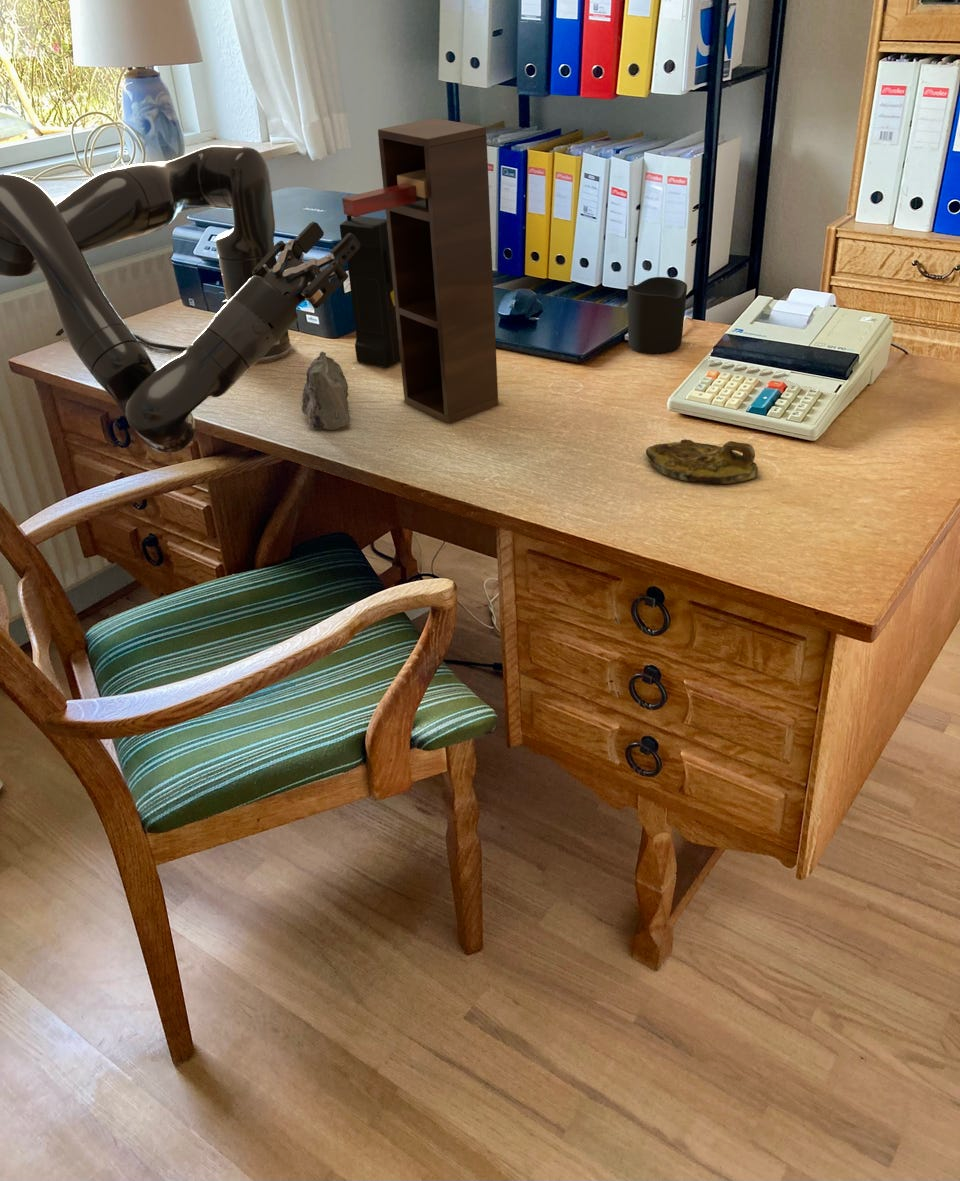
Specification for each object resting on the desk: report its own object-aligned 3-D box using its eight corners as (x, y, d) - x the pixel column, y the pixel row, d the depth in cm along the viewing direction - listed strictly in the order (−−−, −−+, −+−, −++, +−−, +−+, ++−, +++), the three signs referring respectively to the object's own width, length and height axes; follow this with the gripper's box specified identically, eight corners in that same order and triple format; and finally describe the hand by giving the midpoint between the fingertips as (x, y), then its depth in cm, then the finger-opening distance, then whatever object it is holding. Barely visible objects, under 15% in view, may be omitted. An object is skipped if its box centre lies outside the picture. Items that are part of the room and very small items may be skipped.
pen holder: (687, 355, 166) (691, 294, 161) (629, 357, 167) (631, 296, 161) (678, 334, 174) (682, 275, 168) (623, 337, 174) (624, 278, 169)
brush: (337, 217, 133) (333, 189, 131) (443, 191, 142) (441, 164, 140) (362, 225, 129) (359, 196, 127) (470, 198, 138) (469, 170, 136)
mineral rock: (329, 391, 161) (320, 329, 156) (387, 401, 157) (380, 338, 151) (279, 424, 152) (268, 359, 146) (339, 436, 147) (330, 369, 142)
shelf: (404, 402, 156) (377, 129, 135) (453, 384, 161) (434, 118, 139) (448, 424, 149) (427, 139, 127) (498, 404, 154) (486, 126, 132)
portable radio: (414, 357, 171) (400, 202, 157) (393, 369, 167) (376, 211, 153) (377, 350, 175) (359, 197, 161) (355, 362, 171) (335, 206, 157)
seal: (634, 479, 134) (748, 498, 128) (633, 449, 131) (750, 466, 125) (655, 442, 140) (766, 458, 135) (655, 412, 137) (768, 427, 132)
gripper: (242, 330, 136) (323, 244, 138) (298, 358, 126) (384, 265, 129) (206, 288, 130) (291, 200, 133) (262, 314, 121) (353, 218, 123)
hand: (337, 232), depth 131 cm, fingers open, 8 cm apart
